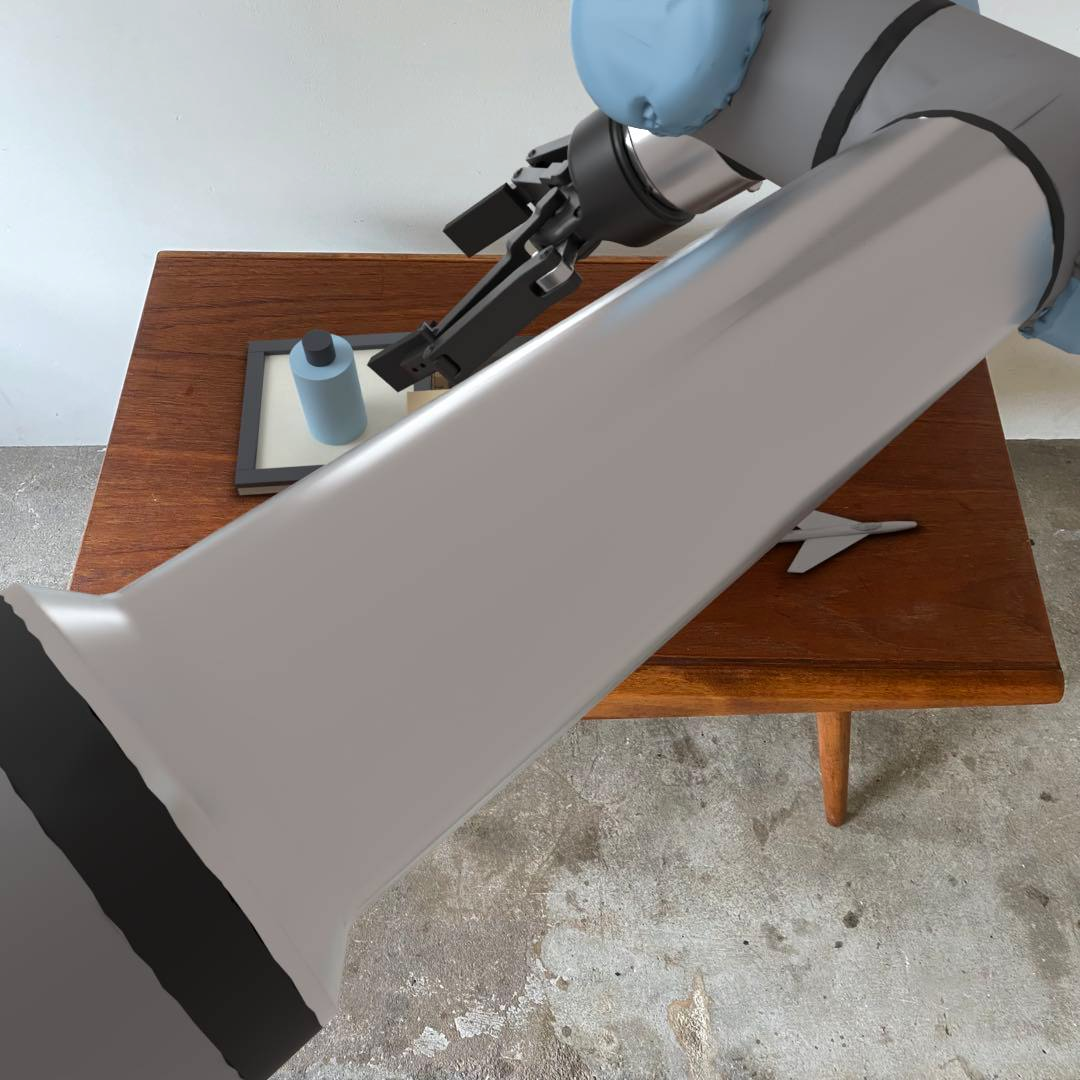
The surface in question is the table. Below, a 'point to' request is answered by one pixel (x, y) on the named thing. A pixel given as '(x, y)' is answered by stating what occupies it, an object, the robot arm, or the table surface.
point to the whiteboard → (279, 422)
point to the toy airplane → (832, 536)
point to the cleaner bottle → (328, 387)
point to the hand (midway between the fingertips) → (422, 304)
